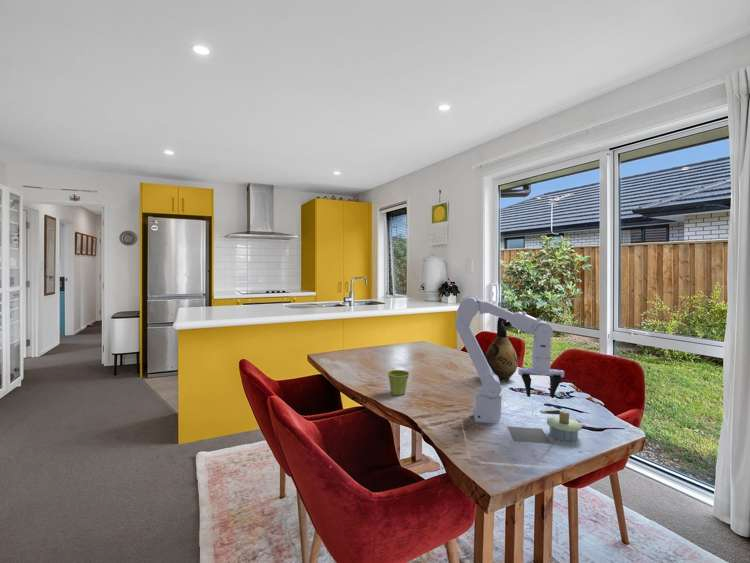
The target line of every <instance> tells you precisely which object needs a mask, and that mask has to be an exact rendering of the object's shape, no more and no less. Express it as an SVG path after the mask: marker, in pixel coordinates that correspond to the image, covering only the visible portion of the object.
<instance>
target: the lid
mask: <svg viewBox="0 0 750 563" xmlns="http://www.w3.org/2000/svg"><path fill="white" fill-rule="evenodd" d="M578 421H579V420H578ZM578 421H577V420H576V419H573V418H570V412H568V411H566V410H560V414H559V415H558V416H550V417H547V419H546V424H547V426H549V427H550V426H551V427H553V428H555V429H558V430H562V431H570V432H575V431H578V432H579V431H581V430H582V427H583V426H582V425H581V423H579V422H578Z"/></svg>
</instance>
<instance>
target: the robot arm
mask: <svg viewBox="0 0 750 563" xmlns="http://www.w3.org/2000/svg"><path fill="white" fill-rule="evenodd" d="M456 313H457V314H456V319H455V324H454V326H455V328H456V331H457V333H458V335H459V338H460V339H461V340H462V344H463V345H464V348H465V349H466V351H467V353H468V356H469V357H470V359H471V361H472V363H473V366H474V368H475V370H476V372H477V375H478V378H479V379H480V382H481V390H480V391H479V393H475V394H473V405H472V406H473V410H472V415H473V418H474V421H475V423H486V424H487V423H488V424H502V425H503V424H504V420H503V419H502V400H503V399H502V398H503V397H502V393H501V392H502V387H501V381H500V380H499V377H498V376H497V375H496V374H494V373H493V371H492V369H491V367H490V366H489V364H488V362H487V360H486V358H485V353H484V352H483V350H482V348H481V346H480V344H479V342H478V340H477V338H476V335H475V334H474V332H473V329H472V328H471V324H472V321H473V318H474V317H475V316H476V315H477V314H478V313H479V315H482V314H483V315H484V314H490V315H492V316H495V317H497V318H499V317H500V318H503V319H505V320H507V322H508V321H510V323H511V328H512V327H513V328H515V329H517V330H520V331H522V332H523V333H526V334H529V335H533V340H532V356H531V357H532V362H531V367H524V368H523V367H517V373H518V375H519V376H520V377H521V378H522V381H523V384H524V387H525V393H526V396H527V398H531V387H532V386H531V385H532V378H531V376H543V377H549V384H550V385H549V388H550V389H549V397H550V398H551V399H554V398H555V395H556V391H557V389H558V387H559V385H560V384H561V382H562V380H563V378H564V377H565V371H564V370H563V369H554V368H551V352H552V339H551V338H552V337H553V335H554V331H553V328H552V326H551V325H550V324H549V323H548V322H547V321H544V320H541V318H539V317H536V318H535V317H533V316H531V315H528V314H527V312H526V311H516V312H512V311H510V310H508V309H505V308H503V307H501V306H498V305H497V304H494V303H492V302H490V301H488V300H485V299H481V298H476V297H474V296H472V295H471V296H470V295H469V296H465V297H464V298H463V299H462V301H461V302H460V304H459V305H458V308H457V312H456Z"/></svg>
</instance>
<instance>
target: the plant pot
mask: <svg viewBox="0 0 750 563" xmlns="http://www.w3.org/2000/svg"><path fill="white" fill-rule="evenodd" d="M410 373H411V372H409V371H406V370H402V369H394V370H393V369H392V370H390V371H387V373H386V374H387V376H388V380H389V388H390V394H392V395H394V396H402V395H405V394H406V391H407V384H408V380H409V376H410V375H411V374H410Z"/></svg>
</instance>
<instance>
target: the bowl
mask: <svg viewBox="0 0 750 563" xmlns="http://www.w3.org/2000/svg"><path fill="white" fill-rule="evenodd" d="M548 434H549V435H550V436H551V437H552V438H554V439H556V440H560V441H564V442H574V441H575V442H576V441H577V440H578V439H579V431H575V432H570V431H562V430H558V429H555V428H553V427H551V426H549V432H548Z"/></svg>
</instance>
